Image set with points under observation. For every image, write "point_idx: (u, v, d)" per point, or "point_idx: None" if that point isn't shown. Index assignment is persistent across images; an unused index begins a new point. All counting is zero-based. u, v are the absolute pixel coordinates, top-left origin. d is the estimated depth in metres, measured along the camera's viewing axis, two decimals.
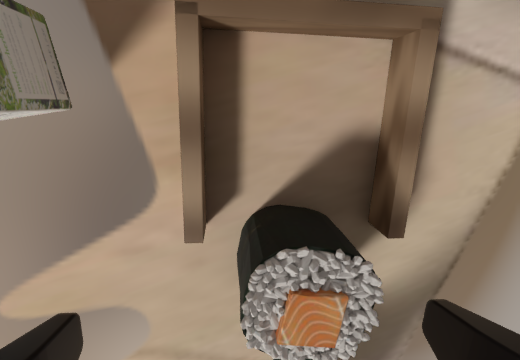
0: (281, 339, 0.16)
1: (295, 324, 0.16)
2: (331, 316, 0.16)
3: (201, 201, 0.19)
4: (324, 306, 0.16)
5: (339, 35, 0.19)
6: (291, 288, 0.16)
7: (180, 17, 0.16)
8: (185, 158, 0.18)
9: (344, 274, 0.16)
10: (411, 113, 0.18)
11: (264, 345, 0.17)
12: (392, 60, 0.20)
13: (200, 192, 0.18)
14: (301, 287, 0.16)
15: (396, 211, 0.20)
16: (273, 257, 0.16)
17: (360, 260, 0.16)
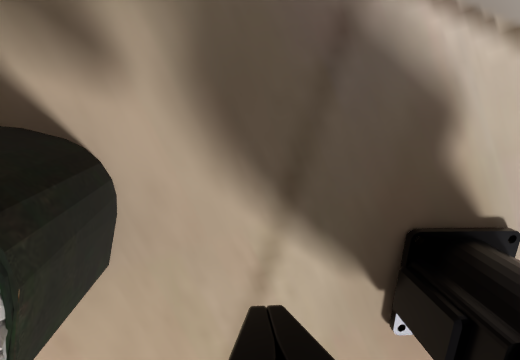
0: None
1: None
2: None
3: None
4: None
5: None
6: None
7: None
8: None
9: None
10: None
11: None
12: None
13: None
14: None
15: None
16: None
17: None
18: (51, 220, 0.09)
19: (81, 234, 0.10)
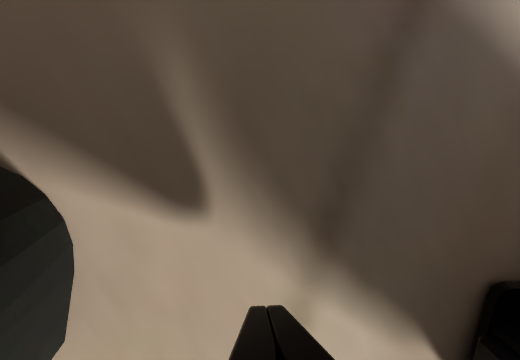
0: None
1: None
2: None
3: None
4: None
5: None
6: None
7: None
8: None
9: None
10: None
11: None
12: None
13: None
14: None
15: None
16: None
17: None
18: None
19: None
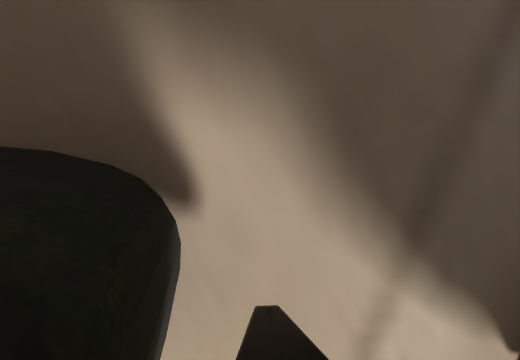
0: None
1: None
2: None
3: None
4: None
5: None
6: None
7: None
8: None
9: None
10: None
11: None
12: None
13: None
14: None
15: None
16: None
17: None
18: (127, 336, 0.05)
19: (157, 330, 0.06)
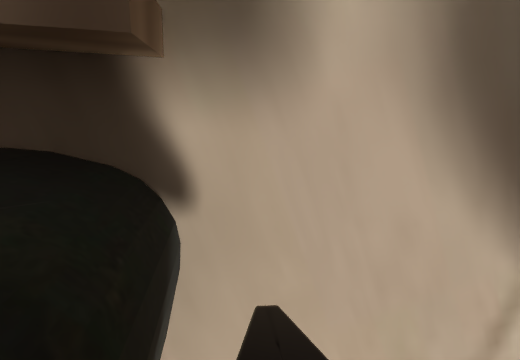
0: None
1: None
2: None
3: None
4: None
5: None
6: None
7: None
8: None
9: None
10: None
11: None
12: None
13: None
14: None
15: (0, 2, 0.05)
16: None
17: None
18: (127, 337, 0.05)
19: (157, 331, 0.06)
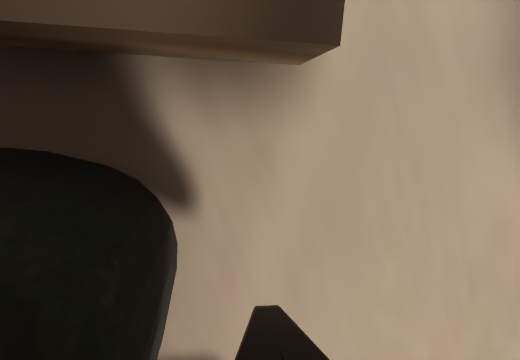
0: None
1: None
2: None
3: None
4: None
5: None
6: None
7: None
8: None
9: None
10: None
11: None
12: None
13: None
14: None
15: (233, 17, 0.05)
16: None
17: None
18: (121, 338, 0.05)
19: (153, 332, 0.06)
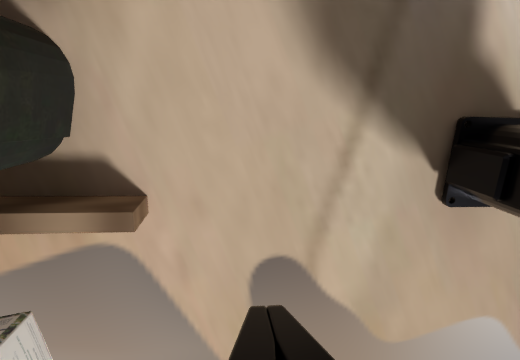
0: None
1: None
2: None
3: (79, 213, 0.16)
4: None
5: None
6: None
7: None
8: (27, 229, 0.16)
9: None
10: None
11: None
12: None
13: (67, 214, 0.16)
14: None
15: None
16: None
17: None
18: (10, 47, 0.12)
19: (37, 77, 0.14)
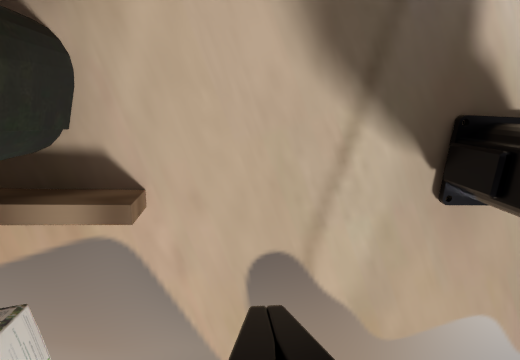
0: None
1: None
2: None
3: (77, 205, 0.16)
4: None
5: None
6: None
7: None
8: (24, 220, 0.16)
9: None
10: None
11: None
12: None
13: (65, 206, 0.16)
14: None
15: None
16: None
17: None
18: (10, 37, 0.12)
19: (37, 68, 0.14)
